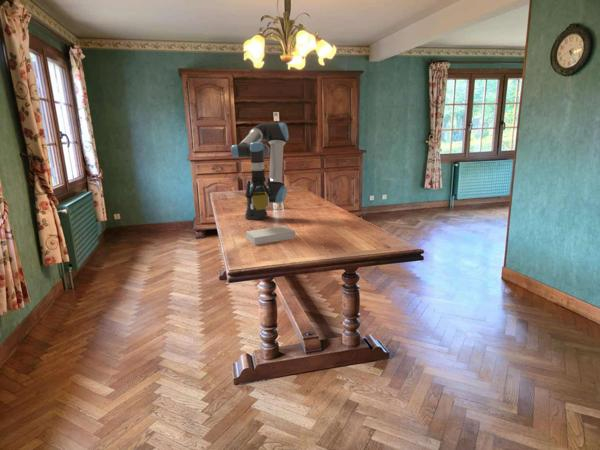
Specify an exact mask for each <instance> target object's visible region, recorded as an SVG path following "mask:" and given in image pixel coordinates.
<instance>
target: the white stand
mask: <svg viewBox="0 0 600 450" xmlns="http://www.w3.org/2000/svg"><path fill="white" fill-rule="evenodd" d="M245 237H246V239H247V240H248V241H249V242H251V243H252V244H253V245H254V246H257V245H258V246H259V245H263V244H270V243H275V242H280V241H286V240H292V239H296V231H295V230H294V229H292V228H290V227H289V226H287V225H280V226H273V227H266V228H261V229H254V230H248V231H245Z"/></svg>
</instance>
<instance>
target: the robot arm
mask: <svg viewBox="0 0 600 450" xmlns="http://www.w3.org/2000/svg"><path fill="white" fill-rule="evenodd" d="M288 128H289V127H288V125H287V124H286V123H285V122H264V123H263V122H262V123H259V124H258V125H255V126H254V127H253V128H251V129H250V130H249V131H248V134H247V135H246V136H245V138H243V140H241V142H240V143H239V144H233V145H232V146H231V148H230V152H231V153H230V154H231V156H232V157H233V158H238V159H239V158H242V159H243V158H250V169H251V171H250V172H251V179H250V180H249V179H246V188H245V189H246V190H245V194H244V196H245V198H246V211H245V214H244V215H245V216H244V217H245V219H246V220H249V221H251V220H252V221H259V220H265V219H267V218H268V212H267V210H266V208H270V204H275V203H276V204H280V203H284V201H285V200H286V197H287V185H285V183H284V182H283V164H284V163H283V160H284V146H285V145H286V144H287V141H289V138H290V137H289V136H290V135H289V129H288ZM263 141H265V142H266V141H268V144H269V145H270V147H269V146H268V145H267V144H265V143H263ZM269 154H270V156H269V177H267V178H266V176H265V175H266V174H265V158H266V157H267V156H268V155H269ZM265 182H266V184H265ZM260 192H266V193H267V194H268V203H267V206H266V208H265V209H261V210H256V208H255V207H254V205H253V198H252V195H253V193H260Z"/></svg>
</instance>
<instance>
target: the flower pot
mask: <svg viewBox="0 0 600 450" xmlns="http://www.w3.org/2000/svg"><path fill="white" fill-rule="evenodd" d="M252 198H253V205H254V207H255V208H256V210H261V209H266V208H267V203H268V194H267V193H266V192H260V193H253V195H252Z"/></svg>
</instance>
